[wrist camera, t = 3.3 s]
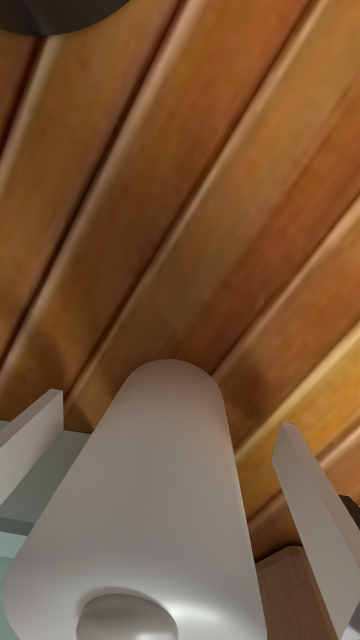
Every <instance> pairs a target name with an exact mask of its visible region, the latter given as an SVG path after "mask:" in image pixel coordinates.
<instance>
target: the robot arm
mask: <svg viewBox="0 0 360 640" xmlns="http://www.w3.org/2000/svg"><path fill="white" fill-rule="evenodd" d="M129 1H130V0H0V28H1V29H4V30H7V31H10V32H15V33H19V34H25V35H34V36H49V35H59V34H64V33H70V32H73V31H77V30H80V29H83V28H85V27H88V26H90V25H93V24H95V23H97V22H99V21H101V20H103V19H104V18H106V17H108V16H109V15H111V14H112V13H114V12H115V11H117V10H118V9H120V8H121V7H122V6H123V5H125V4H126V3H127V2H129ZM63 429H64V420H63V390H56V389H50V390H48V391H47V392H46V393H45V394H44V395H42V396H41V397H40V398H39V399H38V400H36V401H35V402H34V403H33V404H32V405H30V406H29V407H28V408H27V409H26V410H24V411H23V412H22V413H21V414H20V415H18V416H17V417H16V418H15V419H14V420H13V421H11V422H10V423H9V424H8V425H7V426H5V427H4V428H3V429H2V430H1V431H0V506H1V504H2V503H3V502H4V501H5V500H6V498H7V497H8V496H9V495H10V493H11V492H12V491H13V490H14V489H15V487H16V486H17V485H18V484H19V483H20V481H21V480H22V479H23V478H24V476H25V475H26V474H27V473H28V472H29V470H30V469H31V468H32V467H33V465H34V464H35V463H36V462H37V461H38V459H39V458H40V457H41V456H42V454H43V453H44V452H45V451H46V450H47V448H48V447H49V446H50V445H51V444H52V442H53V441H54V440H55V439H56V437H57V436H58V435H59V434H60V433H61V431H62V430H63ZM271 462H272V464H273V467H274V470H275V472H276V475H277V478H278V480H279V483H280V486H281V488H282V491H283V494H284V496H285V499H286V501H287V504H288V507H289V509H290V512H291V515H292V517H293V520H294V523H295V525H296V528H297V531H298V533H299V536H300V539H301V541H302V544H303V547H304V549H305V552H306V554H307V557H308V560H309V562H310V565H311V568H312V570H313V573H314V576H315V578H316V581H317V584H318V586H319V589H320V592H321V594H322V597H323V600H324V602H325V605H326V608H327V610H328V613H329V615H330V618H331V621H332V623H333V626H334V629H335V631H336V634H337V637H338V639H339V640H360V507H359V506H358V505H357V504H356V503H355V502H354V501H353V500H352V499H351V498H350V497H349V496H343V495H338V494H337V492H336V491H335V489H334V487H333V486H332V484H331V483H330V481H329V479H328V478H327V476H326V474H325V473H324V471H323V470H322V468H321V466H320V465H319V463H318V461H317V460H316V458H315V456H314V455H313V453H312V452H311V450H310V448H309V447H308V445H307V443H306V442H305V440H304V439H303V437H302V435H301V434H300V432H299V430H298V429H297V427H296V425H295V424H291V423H284V422H281V424H280V428H279V432H278V436H277V440H276V443H275V447H274V451H273V455H272V459H271Z"/></svg>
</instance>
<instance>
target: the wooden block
mask: <svg viewBox="0 0 360 640" xmlns="http://www.w3.org/2000/svg"><path fill="white" fill-rule="evenodd" d="M255 570H256V575H257V580H258V586H259V591H260V596H261V602H262V607H263V612H264V618H265V623H266V628H267V640H339V639H338V637H337V634H336V631H335V629H334V626H333V623H332V621H331V618H330V615H329V613H328V610H327V608H326V605H325V602H324V600H323V597H322V594H321V592H320V589H319V586H318V584H317V581H316V578H315V576H314V573H313V570H312V568H311V565H310V562H309V560H308V557H307V554H306V552H305V549H304V548H303V547H300V546H287V547H286V548H284V549H282V550H280V551H278V552H276V553H274V554H273V555H271V556H269V557H267V558H265V559H263V560H261V561H260V562H258V563H256V564H255Z"/></svg>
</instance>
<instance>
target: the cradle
mask: <svg viewBox="0 0 360 640" xmlns="http://www.w3.org/2000/svg"><path fill="white" fill-rule="evenodd" d="M9 423H10V422H9V421H2V420H0V431H1V430H2V429H3V428H4V427H5V426H7V425H8V424H9ZM90 436H91V434H86V433H80V432H73V431H67V430H62V431H61V433H60V434H59V435H58V436H57V437H56V439H55V440H54V441H53V442H52V444H51V445H50V446H49V447H48V448H47V450H46V451H45V452H44V453H43V454H42V456H41V457H40V458H39V459H38V461H37V462H36V463H35V464H34V465H33V467H32V468H31V469H30V470H29V472H28V473H27V474H26V475H25V476H24V478H23V479H22V480H21V481H20V483H19V484H18V485H17V486H16V487H15V489H14V490H13V491H12V492H11V493H10V495H9V496H8V497H7V498H6V500H5V501H4V502H3V503H2V504H1V506H0V640H20V639H19V637H18V636H17V635H16V634H15V632H14V630H13V629H12V627H11V626H10V624H9V622H8V620H7V617H6V615H5V613H4V609H3V605H2V598H1V588H2V581H3V578H4V575H5V573H6V570H7V568H8V567H9V565H10V564H11V562H12V560H13V559H14V557H15V556H16V554H17V552H18V551H19V549H20V548H21V546H22V544H23V543H24V541H25V540H26V538H27V536H28V535H29V533H30V532H31V530H32V529H33V527H34V525H35V524H36V522H37V521H38V519H39V517H40V516H41V514H42V513H43V511H44V509H45V508H46V506H47V505H48V503H49V501H50V500H51V498H52V497H53V495H54V493H55V492H56V490H57V489H58V487H59V485H60V484H61V482H62V481H63V479H64V477H65V476H66V474H67V473H68V471H69V469H70V468H71V466H72V465H73V463H74V461H75V460H76V458H77V457H78V455H79V454H80V452H81V450H82V449H83V447H84V446H85V444H86V442H87V441H88V439H89V438H90Z"/></svg>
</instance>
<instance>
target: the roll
mask: <svg viewBox="0 0 360 640" xmlns="http://www.w3.org/2000/svg"><path fill="white" fill-rule="evenodd" d="M1 598H2V605H3V609H4V613H5V615H6V617H7V620H8V622H9V624H10V626H11V627H12V629H13V630H14V632H15V634H16V635H17V636H18V637H19V639H20V640H267V628H266V623H265V618H264V612H263V607H262V602H261V596H260V591H259V586H258V580H257V575H256V570H255V564H254V559H253V554H252V548H251V543H250V538H249V532H248V527H247V522H246V517H245V511H244V506H243V501H242V495H241V490H240V485H239V479H238V474H237V469H236V463H235V458H234V453H233V447H232V442H231V437H230V432H229V426H228V421H227V416H226V410H225V405H224V400H223V396H222V393H221V391H220V389H219V387H218V385H217V384H216V382H215V381H214V380H213V379H212V377H211V376H210V375H209V374H207V373H206V372H205V371H204V370H202V369H201V368H199V367H197V366H195V365H193V364H191V363H188V362H185V361H181V360H176V359H160V360H155V361H151V362H148V363H146V364H144V365H142V366H140V367H138V368H137V369H135V370H134V371H133V372H132V373H131V374H130V375H129V376H128V377H127V379H126V380H125V382H124V383H123V385H122V387H121V388H120V390H119V391H118V393H117V394H116V396H115V398H114V399H113V401H112V402H111V404H110V406H109V407H108V409H107V410H106V412H105V414H104V415H103V417H102V418H101V420H100V422H99V423H98V425H97V426H96V428H95V430H94V431H93V433H92V434H91V436H90V438H89V439H88V441H87V442H86V444H85V446H84V447H83V449H82V450H81V452H80V454H79V455H78V457H77V458H76V460H75V461H74V463H73V465H72V466H71V468H70V469H69V471H68V473H67V474H66V476H65V477H64V479H63V481H62V482H61V484H60V485H59V487H58V489H57V490H56V492H55V493H54V495H53V497H52V498H51V500H50V501H49V503H48V505H47V506H46V508H45V509H44V511H43V513H42V514H41V516H40V517H39V519H38V521H37V522H36V524H35V525H34V527H33V529H32V530H31V532H30V533H29V535H28V536H27V538H26V540H25V541H24V543H23V544H22V546H21V548H20V549H19V551H18V552H17V554H16V556H15V557H14V559H13V560H12V562H11V564H10V565H9V567H8V568H7V570H6V573H5V575H4V578H3V581H2V588H1Z"/></svg>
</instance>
